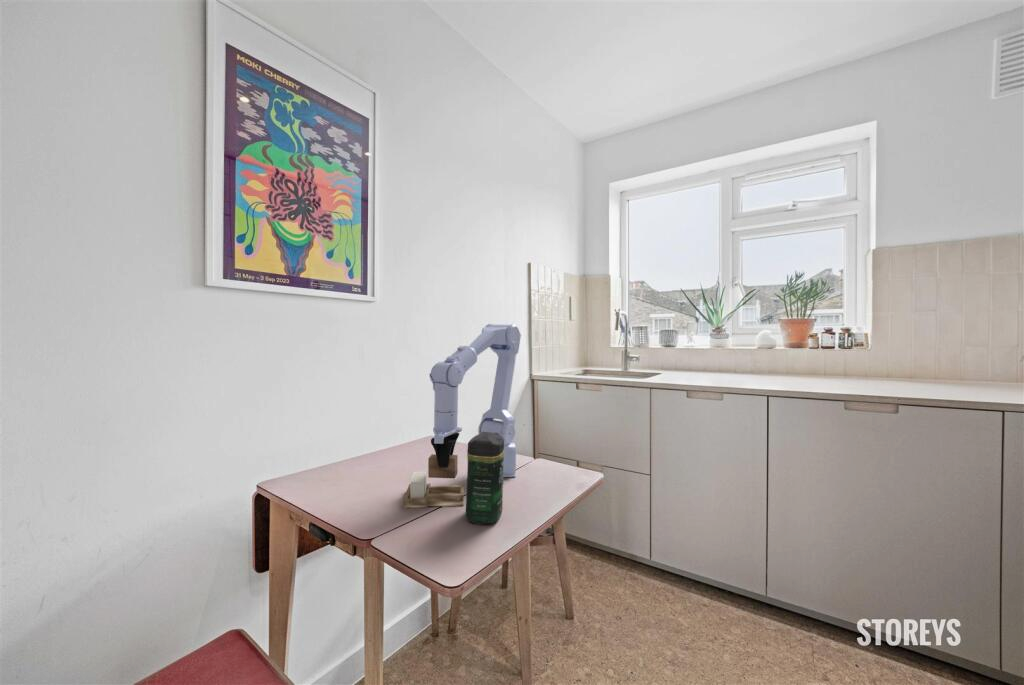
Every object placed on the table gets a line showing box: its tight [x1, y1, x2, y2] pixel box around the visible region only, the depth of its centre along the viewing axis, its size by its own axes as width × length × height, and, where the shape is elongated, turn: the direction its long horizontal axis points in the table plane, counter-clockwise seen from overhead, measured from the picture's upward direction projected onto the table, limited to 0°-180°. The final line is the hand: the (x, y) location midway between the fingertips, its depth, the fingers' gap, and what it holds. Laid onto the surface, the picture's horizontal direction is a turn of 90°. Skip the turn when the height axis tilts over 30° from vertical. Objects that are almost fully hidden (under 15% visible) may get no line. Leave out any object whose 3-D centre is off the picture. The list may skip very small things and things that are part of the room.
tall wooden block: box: [427, 453, 459, 479], centre depth 99 cm, size 7×3×5 cm, turn 86°
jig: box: [402, 482, 465, 508], centre depth 99 cm, size 14×10×2 cm
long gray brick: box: [409, 471, 428, 499], centre depth 99 cm, size 3×7×5 cm, turn 7°
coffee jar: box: [465, 432, 504, 525], centre depth 90 cm, size 10×8×19 cm
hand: (445, 464), depth 99 cm, fingers closed on tall wooden block, 3 cm apart
